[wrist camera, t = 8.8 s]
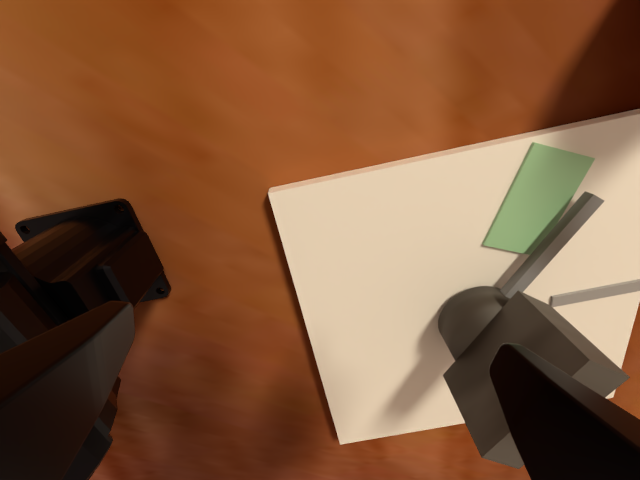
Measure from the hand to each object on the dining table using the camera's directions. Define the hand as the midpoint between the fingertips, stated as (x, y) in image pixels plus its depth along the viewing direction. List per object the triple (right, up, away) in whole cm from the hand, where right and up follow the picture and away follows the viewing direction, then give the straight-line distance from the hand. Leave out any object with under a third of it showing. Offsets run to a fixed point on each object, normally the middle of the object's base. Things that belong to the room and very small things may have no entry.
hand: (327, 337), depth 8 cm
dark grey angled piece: (+11, 0, +12) cm, 17 cm away
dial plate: (+10, -2, +15) cm, 18 cm away
